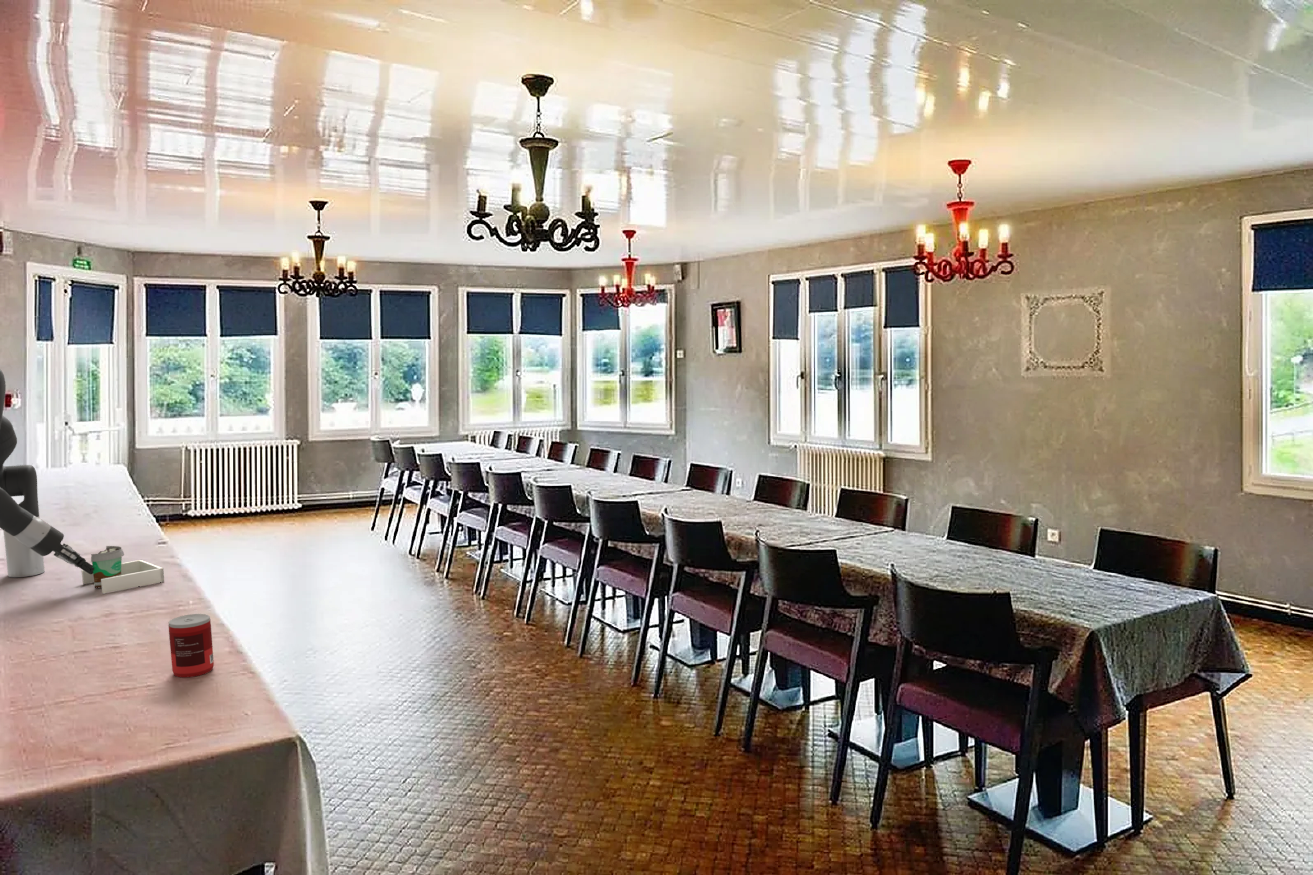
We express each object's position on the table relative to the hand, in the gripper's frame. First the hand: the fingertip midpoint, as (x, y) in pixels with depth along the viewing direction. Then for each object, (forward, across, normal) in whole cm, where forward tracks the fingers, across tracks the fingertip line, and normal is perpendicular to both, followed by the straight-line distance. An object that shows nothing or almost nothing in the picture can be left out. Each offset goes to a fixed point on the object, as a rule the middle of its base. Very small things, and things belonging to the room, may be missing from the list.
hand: (93, 571), depth 257 cm
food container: (+7, +2, 0) cm, 7 cm away
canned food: (-2, -94, +10) cm, 95 cm away
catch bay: (+8, 0, -2) cm, 9 cm away
